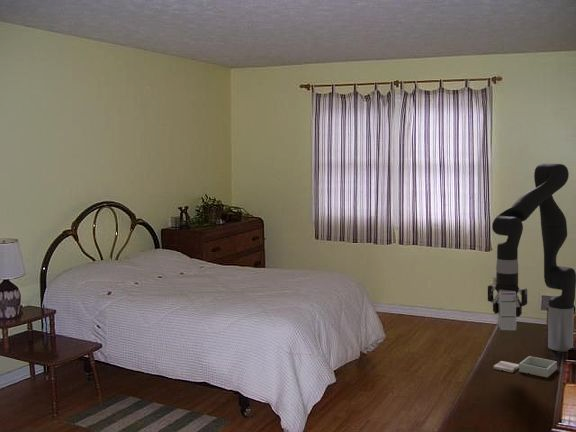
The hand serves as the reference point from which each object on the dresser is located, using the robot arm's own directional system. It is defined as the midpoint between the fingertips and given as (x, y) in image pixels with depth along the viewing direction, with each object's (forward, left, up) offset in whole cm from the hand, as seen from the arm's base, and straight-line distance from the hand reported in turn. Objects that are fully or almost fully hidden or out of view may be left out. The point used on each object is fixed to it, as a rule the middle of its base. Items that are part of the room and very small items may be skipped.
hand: (507, 314), depth 224 cm
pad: (0, 0, -20) cm, 20 cm away
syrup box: (0, 0, -5) cm, 5 cm away
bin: (-4, +10, -20) cm, 23 cm away
